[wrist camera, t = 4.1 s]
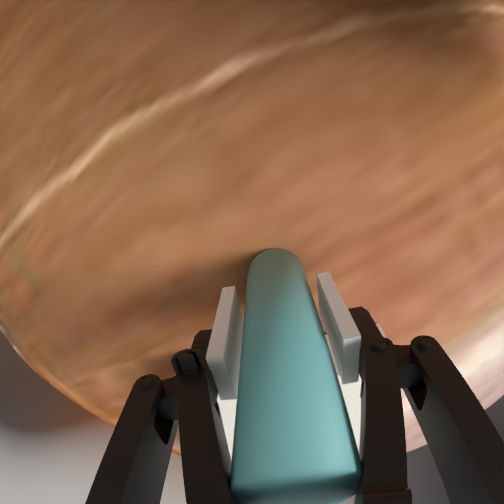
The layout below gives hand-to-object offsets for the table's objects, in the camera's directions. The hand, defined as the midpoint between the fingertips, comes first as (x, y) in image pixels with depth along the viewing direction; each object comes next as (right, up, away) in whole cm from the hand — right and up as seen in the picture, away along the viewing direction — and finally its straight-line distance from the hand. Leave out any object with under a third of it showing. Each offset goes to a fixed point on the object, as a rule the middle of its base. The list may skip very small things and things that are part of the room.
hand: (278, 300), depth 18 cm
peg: (0, +1, +4) cm, 4 cm away
